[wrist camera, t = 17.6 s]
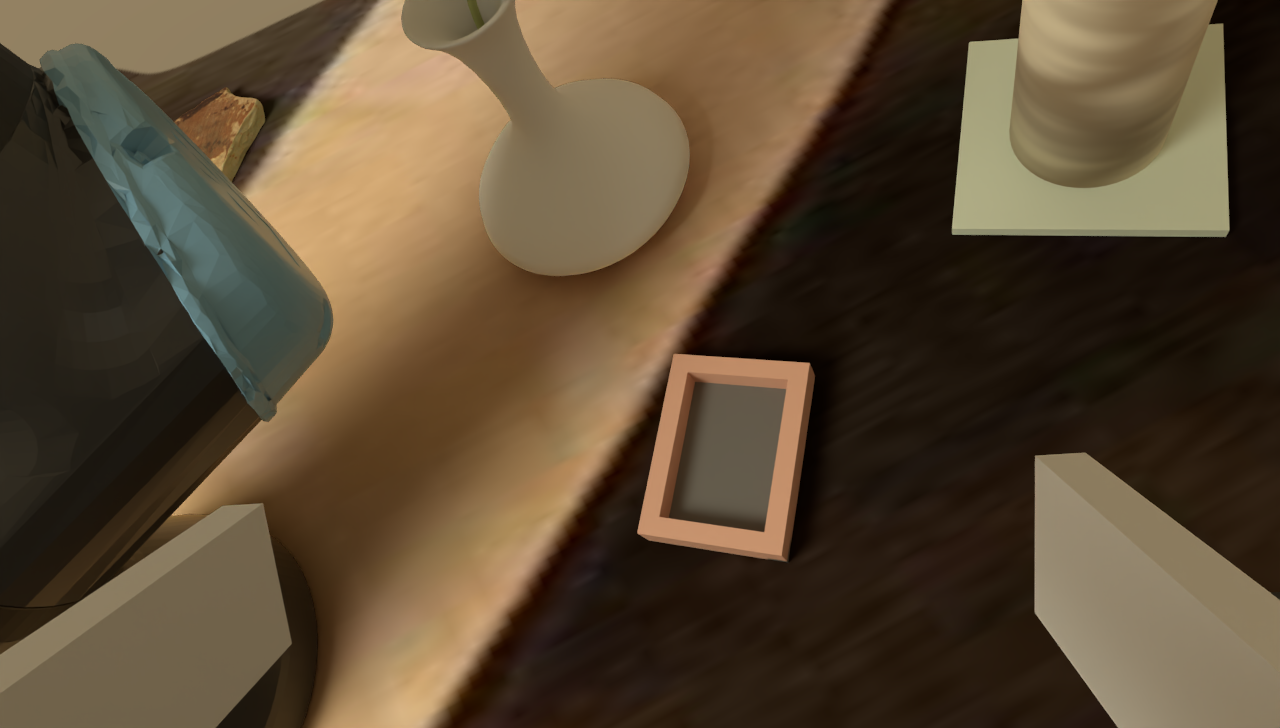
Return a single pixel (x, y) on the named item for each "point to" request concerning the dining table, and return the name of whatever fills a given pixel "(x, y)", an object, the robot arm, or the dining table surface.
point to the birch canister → (1100, 84)
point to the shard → (224, 128)
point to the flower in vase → (560, 147)
